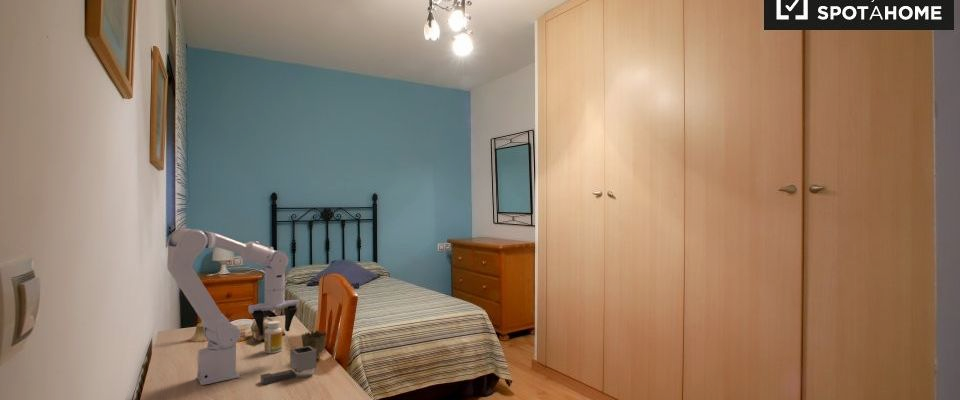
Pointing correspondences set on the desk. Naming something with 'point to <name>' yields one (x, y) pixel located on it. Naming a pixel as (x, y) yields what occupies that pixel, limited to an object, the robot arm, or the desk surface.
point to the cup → (315, 341)
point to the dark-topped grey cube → (303, 358)
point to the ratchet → (285, 375)
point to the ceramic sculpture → (256, 332)
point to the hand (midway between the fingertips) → (274, 332)
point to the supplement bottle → (273, 337)
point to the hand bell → (199, 334)
